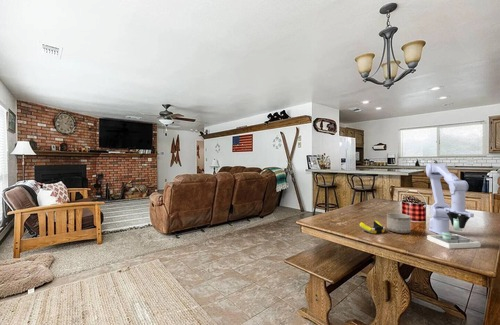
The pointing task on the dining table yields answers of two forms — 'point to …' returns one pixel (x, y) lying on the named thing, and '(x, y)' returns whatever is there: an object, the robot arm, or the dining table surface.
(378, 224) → the spring clamp
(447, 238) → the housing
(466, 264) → the dining table surface
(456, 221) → the jaw peg
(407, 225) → the planter
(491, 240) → the dining table surface
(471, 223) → the dining table surface
